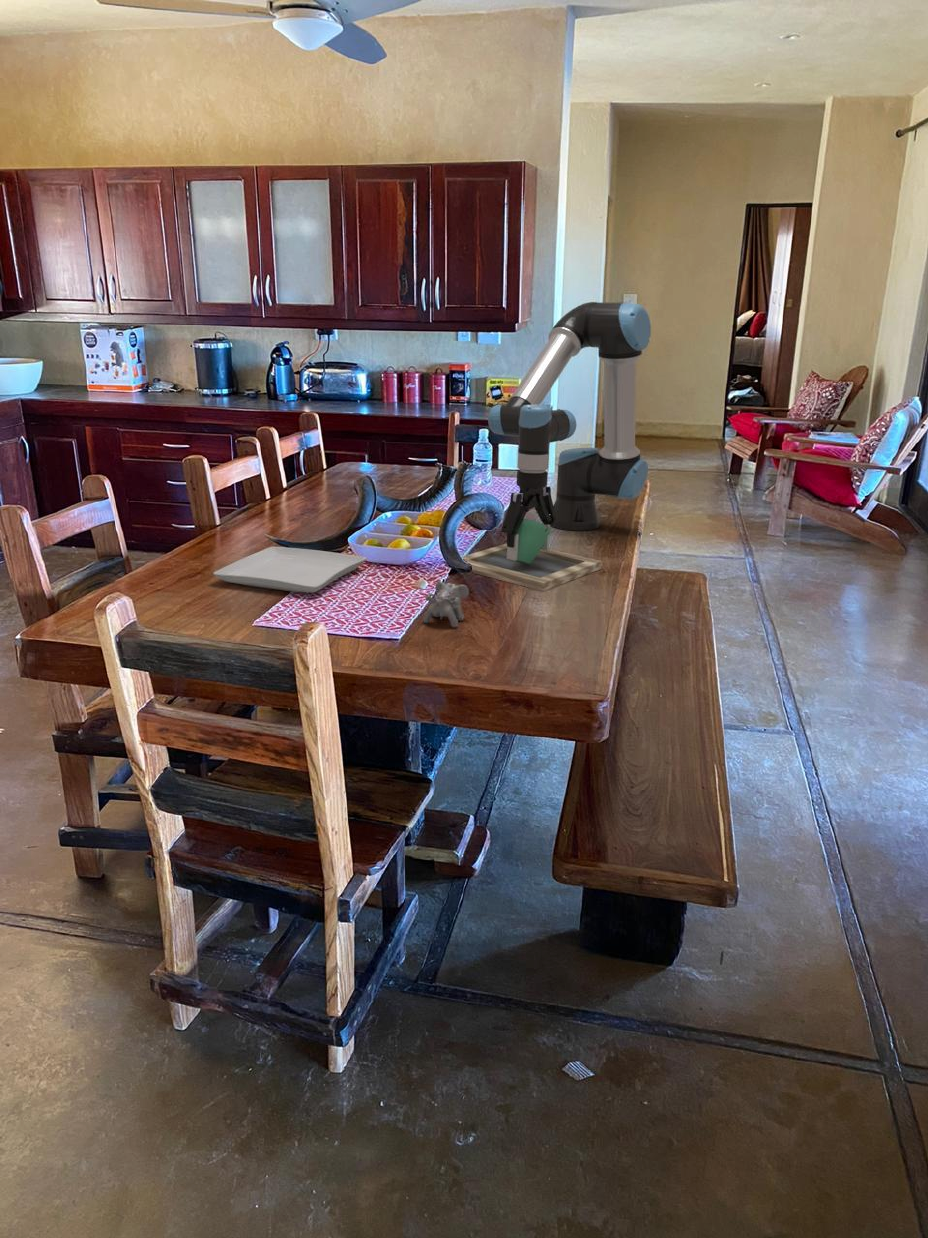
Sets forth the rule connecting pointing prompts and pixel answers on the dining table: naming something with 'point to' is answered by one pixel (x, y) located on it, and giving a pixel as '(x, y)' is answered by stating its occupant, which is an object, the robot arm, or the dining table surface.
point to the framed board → (532, 567)
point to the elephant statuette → (446, 602)
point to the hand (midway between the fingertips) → (528, 554)
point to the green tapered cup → (530, 540)
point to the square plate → (290, 569)
